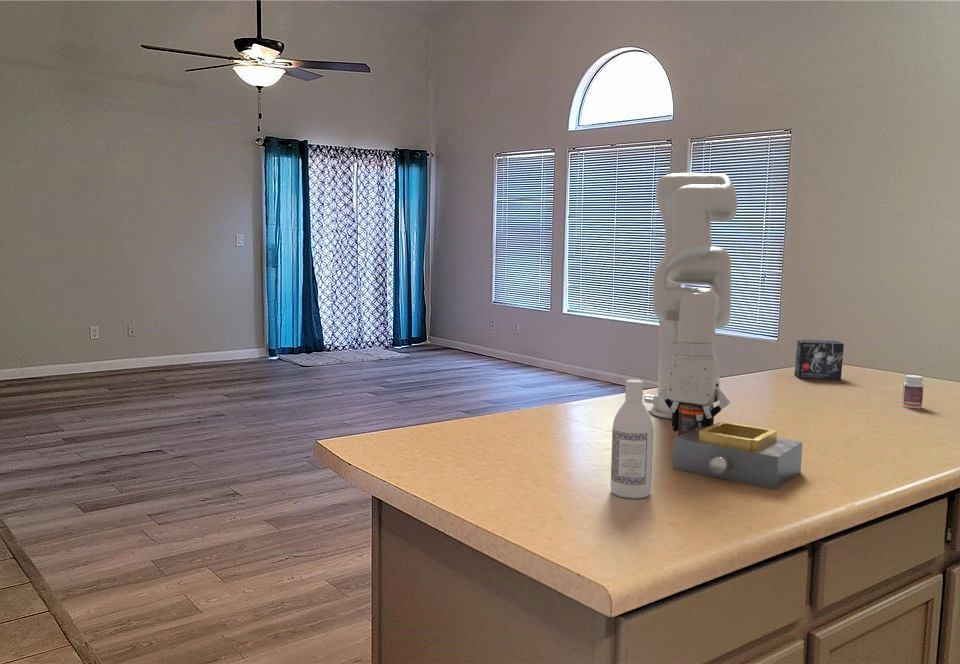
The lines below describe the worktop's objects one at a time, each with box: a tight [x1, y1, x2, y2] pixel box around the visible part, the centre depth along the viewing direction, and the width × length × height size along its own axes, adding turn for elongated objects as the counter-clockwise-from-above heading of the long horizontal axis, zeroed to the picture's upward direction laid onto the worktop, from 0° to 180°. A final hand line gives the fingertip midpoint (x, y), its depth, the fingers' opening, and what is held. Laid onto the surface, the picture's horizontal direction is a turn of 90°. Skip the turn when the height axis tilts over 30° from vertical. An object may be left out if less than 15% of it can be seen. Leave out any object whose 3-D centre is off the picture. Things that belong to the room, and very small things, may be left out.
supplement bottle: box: [677, 403, 705, 437], centre depth 173 cm, size 6×6×11 cm
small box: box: [793, 338, 845, 381], centre depth 261 cm, size 13×7×12 cm, turn 81°
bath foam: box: [610, 379, 654, 500], centre depth 140 cm, size 7×7×20 cm
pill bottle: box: [901, 374, 925, 409], centre depth 217 cm, size 5×5×8 cm
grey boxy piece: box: [671, 421, 803, 490], centre depth 155 cm, size 20×17×8 cm
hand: (692, 431), depth 173 cm, fingers closed on supplement bottle, 6 cm apart
